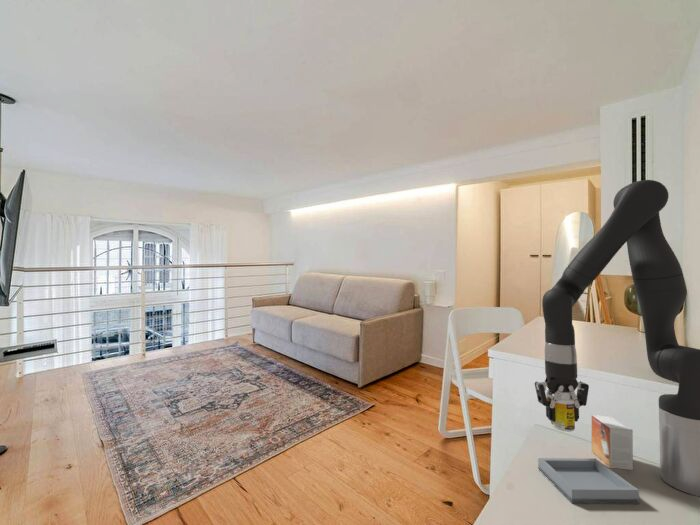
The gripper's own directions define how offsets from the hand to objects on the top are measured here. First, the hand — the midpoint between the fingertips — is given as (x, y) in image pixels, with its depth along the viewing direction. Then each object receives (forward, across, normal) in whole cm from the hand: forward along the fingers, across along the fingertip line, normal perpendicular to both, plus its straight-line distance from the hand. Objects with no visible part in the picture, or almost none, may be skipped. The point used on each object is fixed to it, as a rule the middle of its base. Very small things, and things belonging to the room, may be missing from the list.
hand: (562, 420), depth 88 cm
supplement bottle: (+2, 0, 0) cm, 2 cm away
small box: (+11, -12, +1) cm, 16 cm away
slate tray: (+10, +3, +12) cm, 16 cm away
